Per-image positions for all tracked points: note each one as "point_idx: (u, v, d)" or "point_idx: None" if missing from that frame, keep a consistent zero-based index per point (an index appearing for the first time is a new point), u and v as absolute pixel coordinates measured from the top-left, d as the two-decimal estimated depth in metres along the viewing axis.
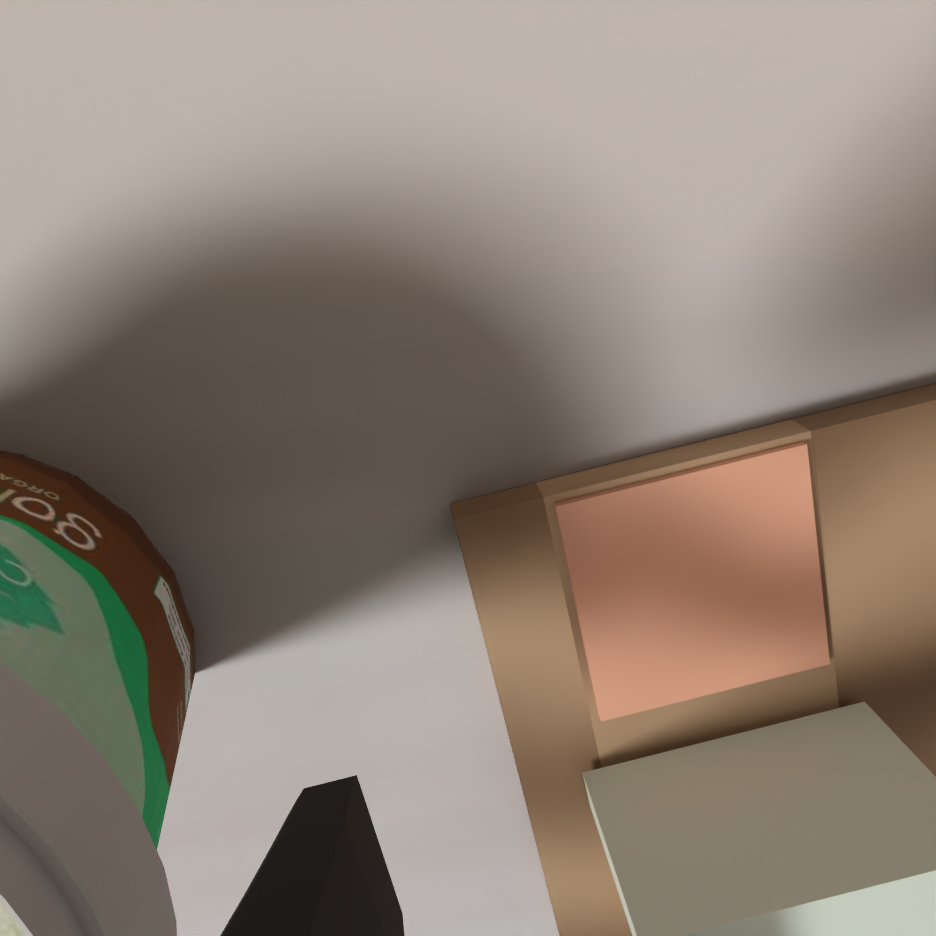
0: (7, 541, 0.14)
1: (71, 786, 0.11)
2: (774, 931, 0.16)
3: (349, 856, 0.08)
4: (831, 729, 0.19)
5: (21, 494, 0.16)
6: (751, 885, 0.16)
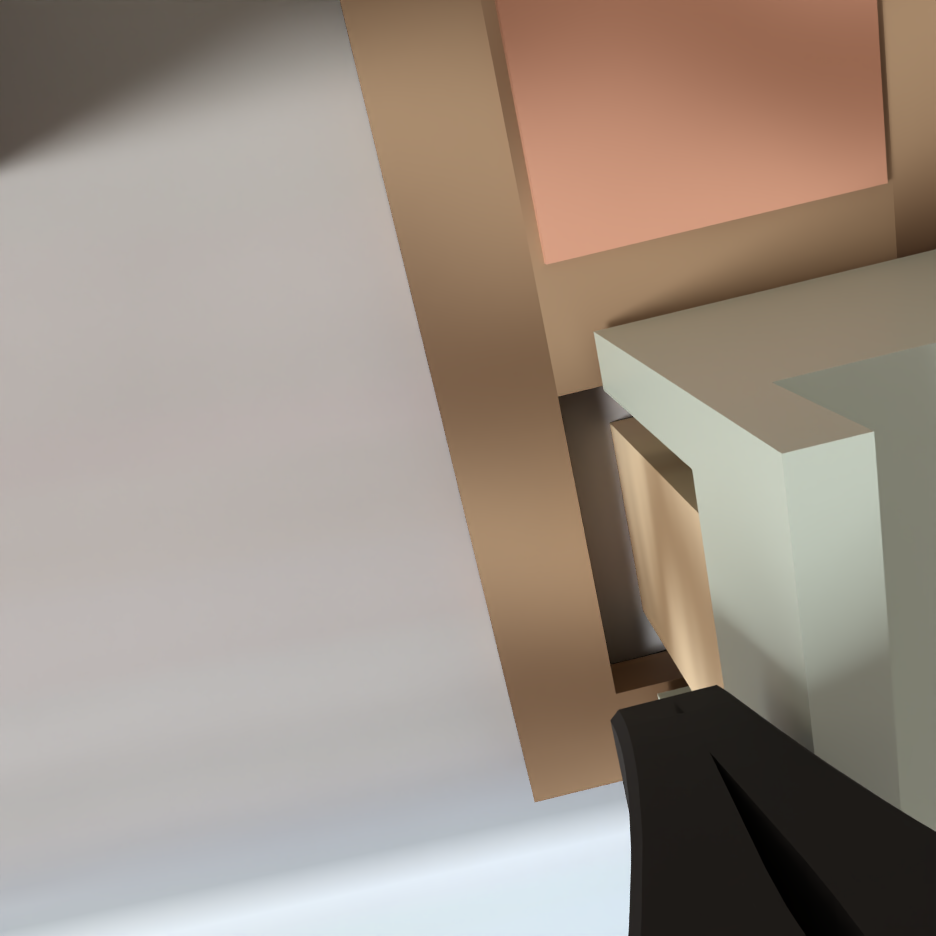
0: None
1: None
2: (928, 386, 0.09)
3: None
4: None
5: None
6: (881, 337, 0.10)
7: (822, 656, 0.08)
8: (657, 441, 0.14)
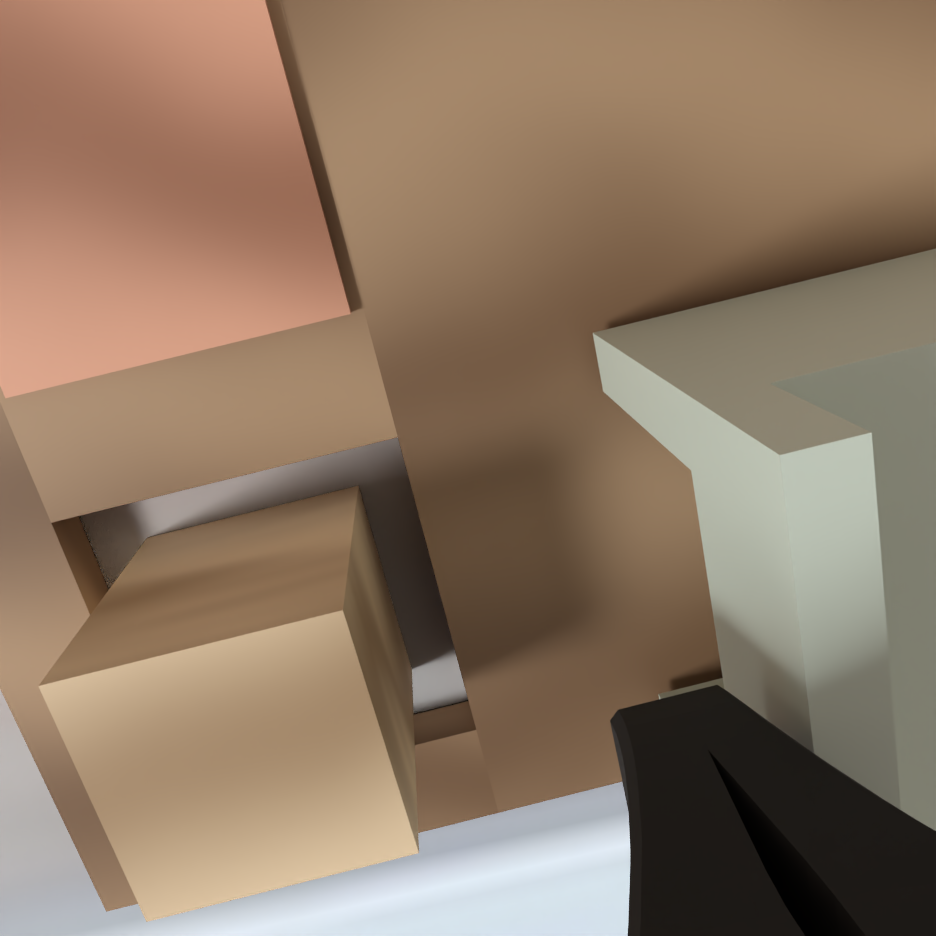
0: None
1: None
2: (926, 386, 0.09)
3: None
4: None
5: None
6: (879, 337, 0.10)
7: (821, 657, 0.08)
8: (144, 568, 0.14)
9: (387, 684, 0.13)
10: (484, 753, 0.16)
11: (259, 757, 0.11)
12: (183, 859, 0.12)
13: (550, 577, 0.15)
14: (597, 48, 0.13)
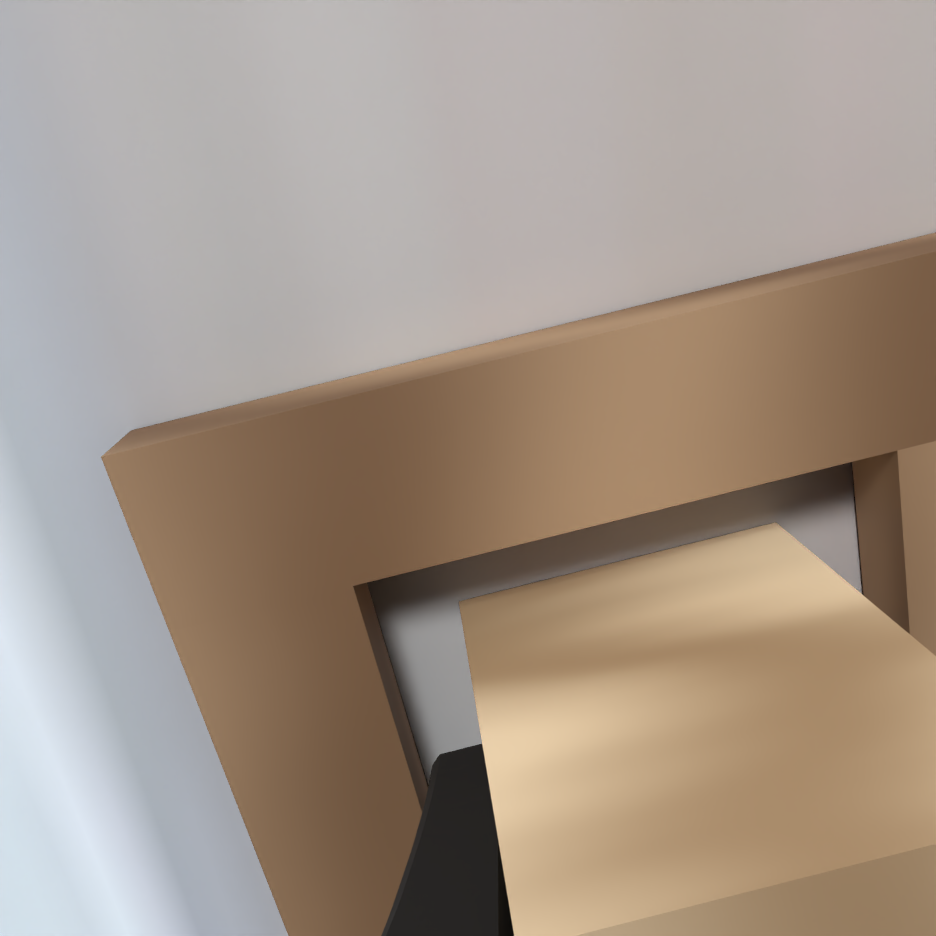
0: None
1: None
2: None
3: None
4: None
5: None
6: None
7: None
8: None
9: None
10: None
11: None
12: None
13: None
14: None
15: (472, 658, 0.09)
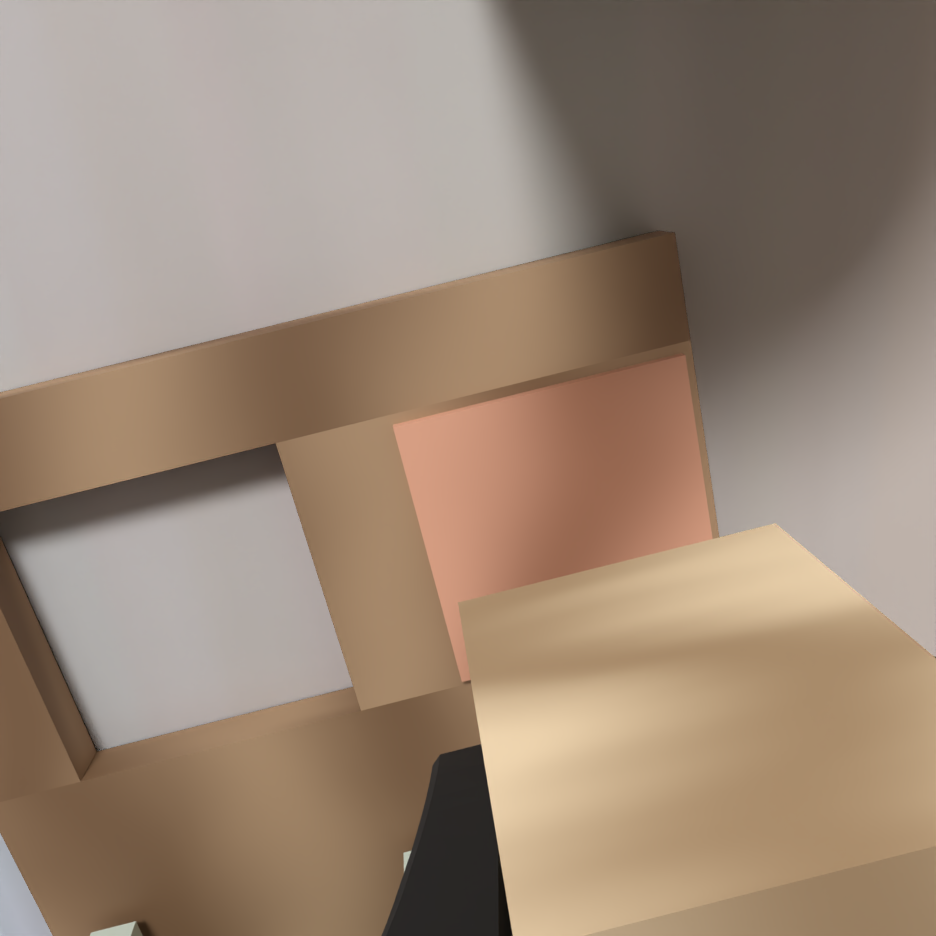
0: None
1: None
2: None
3: None
4: None
5: None
6: None
7: None
8: None
9: None
10: (54, 789, 0.17)
11: None
12: None
13: (239, 825, 0.18)
14: None
15: (471, 659, 0.09)
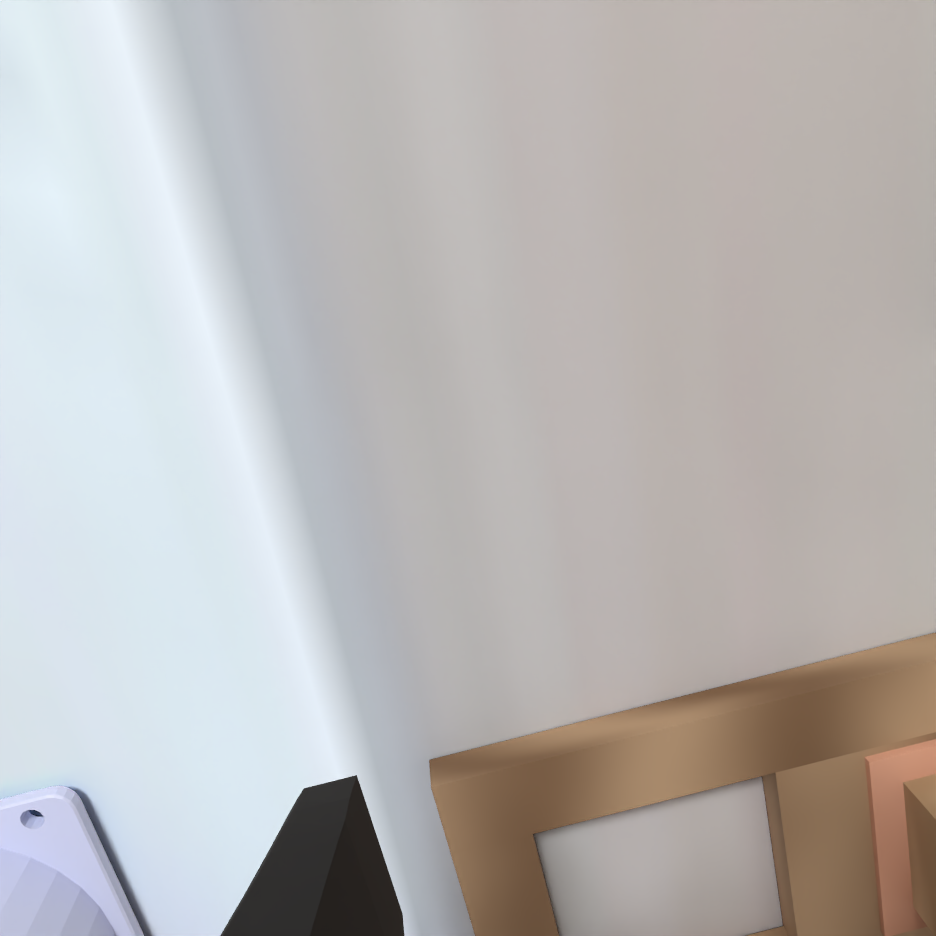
0: None
1: None
2: None
3: (349, 856, 0.08)
4: None
5: None
6: None
7: None
8: None
9: None
10: None
11: None
12: None
13: None
14: None
15: None
